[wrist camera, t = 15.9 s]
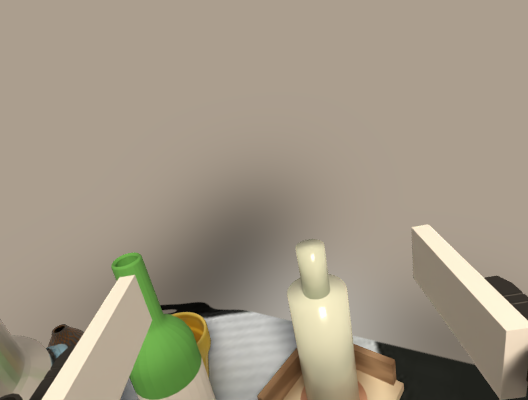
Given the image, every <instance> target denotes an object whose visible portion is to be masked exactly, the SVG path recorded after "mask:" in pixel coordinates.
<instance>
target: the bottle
mask: <svg viewBox="0 0 528 400" xmlns="http://www.w3.org/2000/svg"><path fill="white" fill-rule="evenodd" d="M296 254H297V260H298V266H299V272H300V278H299V279H297V280H295V281H294V282H293V283H292V284H291V285H290V287H289V288H288V291H287V297H288V302H289V308H290V312H291V318H292V323H293V328H294V333H295V339H296V344H297V349H298V354H299V359H300V365H301V370H302V375H303V380H304V385H305V390H306V396H307V400H360V397H359V389H358V380H357V371H356V363H355V354H354V346H353V337H352V328H351V320H350V312H349V303H348V294H347V287H346V284H345V283H344V282H343V281H342V280H341V279H340V278H338V277H336V276H334V275H331V274H328V270H327V263H326V255H325V249H324V243H323V242H322V241H320V240H315V239H309V240H305V241H302V242H300V243H298V244H297V245H296Z"/></svg>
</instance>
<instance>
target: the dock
mask: <svg viewBox="0 0 528 400" xmlns="http://www.w3.org/2000/svg"><path fill="white" fill-rule="evenodd" d="M353 346H354V354H355V363H356V371H357V380H358V389H359V397H360V400H399V399H400V397H401V395H402V393H403V391H404V384H403V383H401V382H399V381H396V369H395V360H393V359H391V358H388V357H386V356H383V355H381V354H378V353H376V352H373V351H371V350H368V349H365V348H363V347H360V346H358V345H355V344H353ZM257 397H258V400H307V396H306V390H305V385H304V380H303V375H302V370H301V365H300V359H299V354H298V349H297V348H296V349H295V351H294V352H293V353H292V354H291V355H290V357H289V358H288V359H287V360H286V362H285V363H284V364H283V365H282V366H281V368H280V369H279V370H278V371H277V373H276V374H275V375H274V376H273V377H272V379H271V380H270V381H269V382H268V384H267V385H266V386H265V387H264V388H263V390H262V391H261V392H260V393H259V395H258V396H257Z"/></svg>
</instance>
